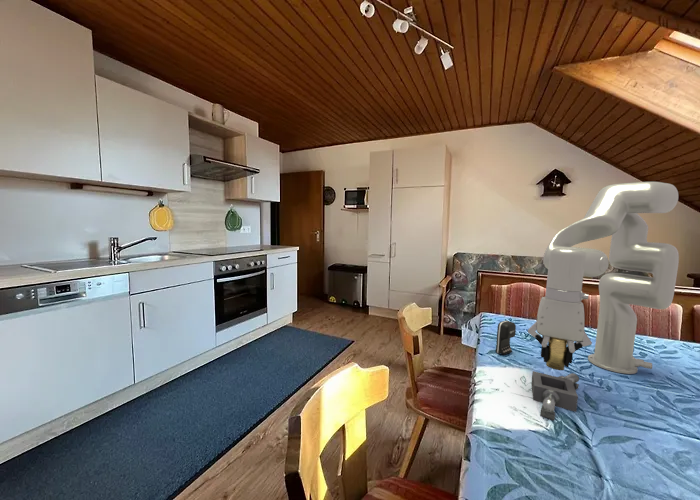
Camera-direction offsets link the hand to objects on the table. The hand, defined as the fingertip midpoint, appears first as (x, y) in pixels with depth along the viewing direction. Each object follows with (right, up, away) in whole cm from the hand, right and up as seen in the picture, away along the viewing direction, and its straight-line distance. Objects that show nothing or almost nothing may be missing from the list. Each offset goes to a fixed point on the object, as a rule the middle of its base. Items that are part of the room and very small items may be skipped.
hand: (555, 361), depth 79 cm
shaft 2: (+7, -10, +5) cm, 13 cm away
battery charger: (+2, -8, +29) cm, 30 cm away
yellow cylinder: (0, -1, 0) cm, 1 cm away
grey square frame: (0, -10, +1) cm, 10 cm away
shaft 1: (-6, -10, -6) cm, 13 cm away
